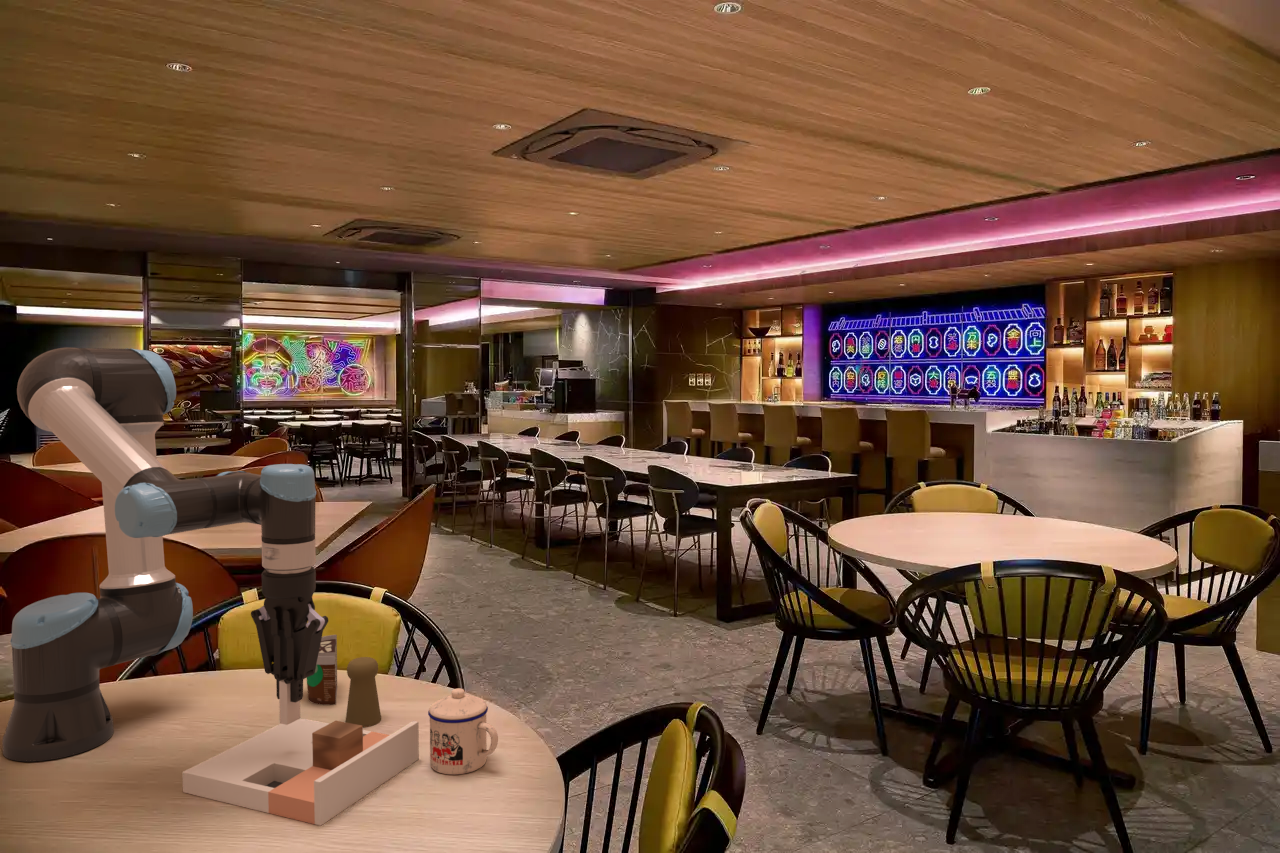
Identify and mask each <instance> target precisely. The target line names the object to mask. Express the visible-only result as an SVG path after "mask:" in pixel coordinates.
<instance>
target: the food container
mask: <svg viewBox="0 0 1280 853" xmlns="http://www.w3.org/2000/svg"><path fill="white" fill-rule="evenodd" d="M337 641H338V640H337V634H330V635H324V636H323V635H322V638H321V643H320V648H319V654H318V659H317V664H316V669H315V673H314V674H313V675H311V676H309V677H307V678H306V687H307V695H308V696H307V698H308V701H309V702H310V703H312V704H315V705H321V706H322V705H323V706H331V705H332V706H334V705H336V704H337V692H338V648H337V647H338V642H337Z"/></svg>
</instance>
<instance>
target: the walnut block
mask: <svg viewBox="0 0 1280 853" xmlns="http://www.w3.org/2000/svg"><path fill="white" fill-rule="evenodd" d="M363 730H364V729H363V726H362V725H357V724H352V723H346V721H340V720H334V721H332V722H331V723H330V724H328V725H326V726H325V727H323V728H321V729H319V730H317V731H315V732H313V733H312V746H313V766H314V767H319V768H323V769H328V770H333V769H335V768H336V767H338V766H340V765H341V764H343V763H344V762H346V761H348V760H349V759H351V758H353V757H354V756H356V755H358V754H359V753H361V752H363Z"/></svg>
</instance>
